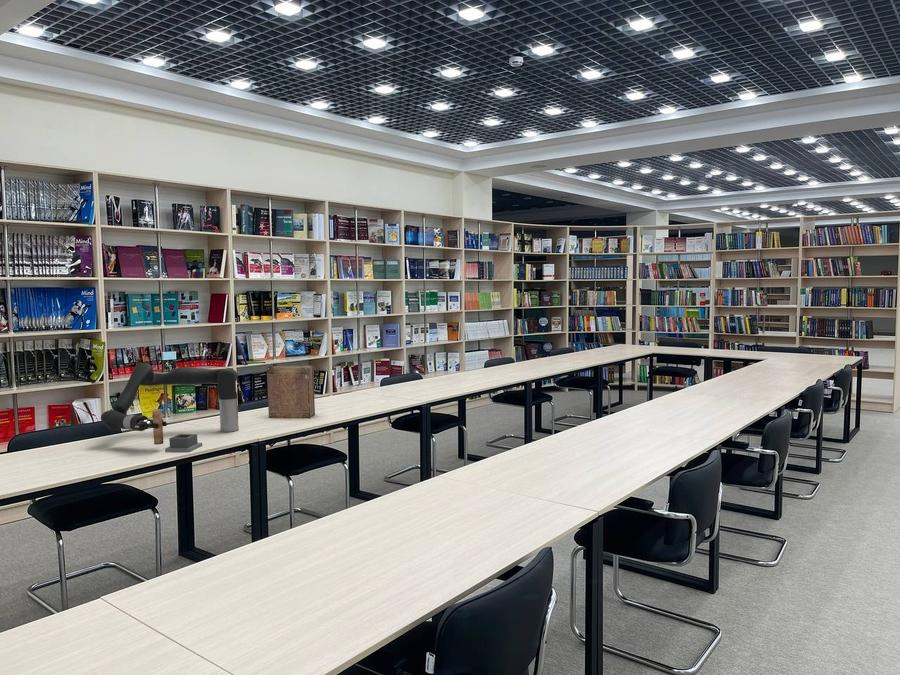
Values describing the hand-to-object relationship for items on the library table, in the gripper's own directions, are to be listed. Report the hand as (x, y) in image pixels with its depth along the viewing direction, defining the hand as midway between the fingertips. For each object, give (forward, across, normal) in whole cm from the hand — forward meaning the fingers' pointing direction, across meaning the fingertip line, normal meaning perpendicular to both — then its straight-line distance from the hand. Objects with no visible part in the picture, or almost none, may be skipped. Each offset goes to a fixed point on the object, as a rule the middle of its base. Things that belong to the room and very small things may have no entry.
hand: (161, 425), depth 298 cm
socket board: (+6, -7, -12) cm, 15 cm away
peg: (-3, 0, -9) cm, 9 cm away
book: (+5, -89, -13) cm, 90 cm away
